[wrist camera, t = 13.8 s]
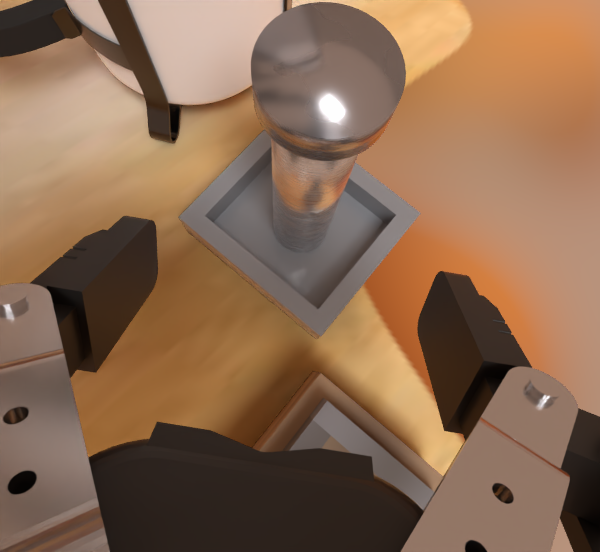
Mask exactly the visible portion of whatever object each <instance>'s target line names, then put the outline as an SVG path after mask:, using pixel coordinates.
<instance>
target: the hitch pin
mask: <svg viewBox="0 0 600 552" xmlns="http://www.w3.org/2000/svg"><path fill="white" fill-rule="evenodd" d="M405 77H406V71H405V63H404V59H403V55H402V53H401V50H400V48H399V46H398V44H397V42H396V40H395V39H394V37H393V36H392V35H391V33H390V32H389V31H388V30H387V29H386V28H385V27H384V26H383V25H382V24H381V23H380V22H379V21H377V20H376V19H375V18H373V17H372V16H370V15H369V14H367V13H365V12H363V11H361V10H359V9H356V8H353V7H351V6H347V5H343V4H338V3H331V2H317V3H309V4H304V5H300V6H297V7H294V8H291V9H289V10H287V11H285V12H283V13H282V14H280V15H279V16H277V17H276V18H274V19H273V20H272V21H271V22H270V23H269V24H268V25H267V26H266V27H265V28H264V29H263V31H262V32H261V34H260V35H259V37H258V39H257V41H256V43H255V45H254V48H253V52H252V57H251V79H252V90H253V100H254V107H255V111H256V114H257V117H258V119H259V121H260V123H261V125H262V126H263V128H264V130H265V131H266V132H267V133H268V135H269V136H270V137H271V147H272V188H273V229H274V234H275V236H276V239H277V240H278V242H279V243H280V244H281V245H282V246H283V247H284V248H286V249H288V250H290V251H292V252H297V253H304V252H309V251H312V250H314V249H315V248H317V247H318V246H319V245H320V244H321V243H322V242H323V240H324V239H325V236H326V234H327V231H328V229H329V226H330V224H331V221H332V219H333V216H334V214H335V211H336V209H337V206H338V204H339V201H340V199H341V196H342V194H343V191H344V189H345V186H346V184H347V181H348V179H349V176H350V174H351V171H352V169H353V166H354V164H355V161H356V158H357V156H358V154H359V153H361V152H363V151H365V150H366V149H368V148H369V147H371V146H372V145H373V144H374V143H375V142H376V141H377V140H378V139H379V138H380V137H381V135H382V134H383V133H384V131H385V129H386V128H387V126H388V124H389V122H390V120H391V118H392V115H393V113H394V111H395V109H396V107H397V105H398V103H399V101H400V99H401V96H402V93H403V90H404V86H405Z"/></svg>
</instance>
